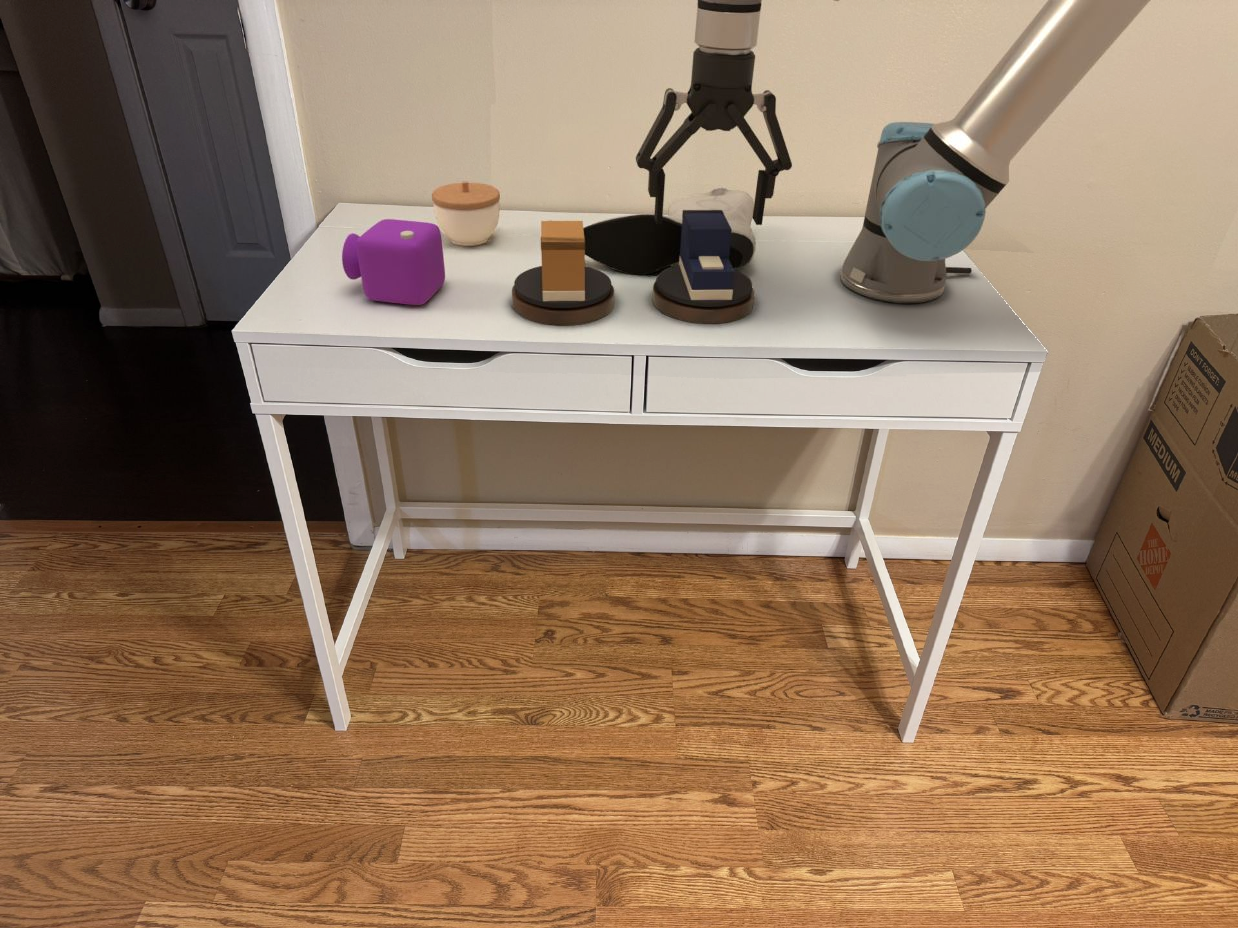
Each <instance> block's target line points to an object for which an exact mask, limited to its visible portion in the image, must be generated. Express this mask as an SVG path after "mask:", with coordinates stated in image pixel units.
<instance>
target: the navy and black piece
mask: <svg viewBox="0 0 1238 928" xmlns="http://www.w3.org/2000/svg"><path fill="white" fill-rule="evenodd" d="M731 232H732V229H731V227H730V225H729V223H728V221H727V219H726V217H725V215H724V213H723V211H722V210H683V213H682V232H681V247H680V258H679V265H676V266H669V267H668V268H664V269H663V270H662V271H660V272H659V273H658V274H657V276H656V280H655V281H656V287H657V289H658V291H659V292H660V293H661V294H662V295H664V296H665V297H667V298H669V299H671V300H673V301H676V302H679V303H683V304H687V305H692V306H701V307H720V306H728V305H733V304H736V303H739V302H741V301H744V300H745V299H747V298H748V297H749V296H750V294H751V292H752V287H753V282H752V279H751V278H750V277H749V276H748V275H746V274H745V273H743V272H741V271H740V270H738V269H736V268H735V269H733V267H732V265H731V263H730V261H729V251H730V242H731Z"/></svg>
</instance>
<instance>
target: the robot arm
mask: <svg viewBox="0 0 1238 928" xmlns="http://www.w3.org/2000/svg"><path fill="white" fill-rule="evenodd" d="M833 1H835V2H839V0H833ZM1150 1H1151V0H1047V1H1046V2H1045V4H1044V5H1043V6H1042V7H1041V9H1040V10H1039V11H1038V12H1037V14H1035V16H1034V17H1033V18H1032V19H1031V20H1030V23H1028V25H1026V28H1024V29H1023V31H1022V32H1021V34H1020V35H1019V36H1018V37H1017V39H1015V41H1014V42H1013V43H1012V45H1011V46H1010V47H1009V49H1008V50H1007V51H1006V53H1005V54H1004V55H1003V56H1002V57H1001V58H1000V60H999V61H998V62H997V64H996V65H995V66H994V68H993V69H992V70H991V71H990V72H989V74H988V75H987V76H986V77H985V79H984V80H983V81H982V82H981V84H980V85H979V86H978V87H977V89H976V90H975V91H974V93H973V94H972V95H971V96H970V97H969V99H967V101H966V102H965V104H964V105H963V106H962V108H961V109H960V110H959V111H958V113H957V114H956V115H955V117H953V118H952V119H950V120H947V121H943V122H938V123H932V122H931V123H930V122H917V121H916V122H914V121H895V122H890V123H888V124H886V125H885V126H884V127H883V128H882V131H881V134H880V138H879V141H878V142H877V146H876V147H877V153H876V158H875V162H874V167H873V174H872V176H871V177H872V178H871V183H870V188H869V193H868V198H867V203H866V207H865V212H864V218H863V224H862V227H861V230H860V232H859V234H858V235H857V237H856V239H855V241H854V242H853V244H852V246H851V248H850V250H849V252H848V253H847V255H846V257H845V259H844V261H843V264H842V266H841V271H840V280H841V282H842V284H843V285H844V286H845V287H847V288H848V289H849V290H850V291H853V292H854V293H857V294H859V295H860V296H864V297H867V298H870V299H873V300H877V301H883V302H887V303H895V304H918V303H927V302H930V301H933V300H935V299H938V298H939V297H940V296H942V295H943V293H944V292H945V287H946V284H947V274H959V275H962V274H963V275H971V274H972V271H973V269H972V268H971V267H957V266H947V265H946V259H948V258H952V257H953V256H955V255H957V254H960V253H961V252H963V251H964V250H965V249H966V248H968V247H969V246H970V245H971V244H972V243H973V241H975V240H976V238H977V237H978V235H979V234H980V232H981V229H982V227H983V224H984V222H985V217H986V212H987V211H986V209H987V208H988V207H989V205H990V204H991V203H992V202H993V201H994V200H995V199H996V197H997V196H998V195H999V194H1000V193H1001V191H1002V190H1003V189H1004V188H1005V187H1006V186H1007V185H1008V184H1009V183H1010V164H1011V161H1012V160H1013V159H1014V158H1015V157H1016V156H1017V154H1018V153H1019V152H1020V151H1021V150H1022V149H1023V147H1025V145H1026V144H1027V143H1028V142H1029V141H1030V139H1031V138H1032V137H1033V136H1034V135H1035V134H1036V133H1037V131H1039V129H1040V128H1041V127H1042V126H1043V124H1045V122H1046V121H1047V120H1048V119H1049V118H1050V116H1051V115H1052V114H1053V113H1054V112H1055V111H1056V110H1057V108H1058V107H1059V106H1060V105H1061V104H1062V103H1063V102H1064V100H1065V99H1066V98H1067V97H1068V96H1069V95H1070V94H1071V93H1072V91H1073V90H1074V89H1075V87H1076V86H1077V85H1078V84H1079V83H1080V82H1081V81H1082V80H1083V78H1085V76H1086V75H1087V74H1088V73H1089V72H1090V71H1091V69H1092V68H1093V67H1094V66H1095V65H1096V63H1098V61H1099V60H1100V59H1101V58H1102V57H1103V55H1104V54H1105V53H1106V52H1107V51H1108V50H1109V49H1110V48H1111V47H1112V45H1113V44H1114V43H1115V42H1116V41H1117V40H1118V38H1119V37H1120V36H1121V35H1122V34H1123V33H1124V31H1126V29H1127V28H1128V27H1129V26H1130V24H1131V23H1133V21H1134V20H1135V19H1136V18H1137V17H1138V15H1140V13H1141V12H1142V11H1143V9H1144V8H1145V7H1146V6H1147V5H1148V4H1149V3H1150ZM696 6H697V7H696V10H697V11H696V19H695V28H694V29H695V31H694V43H695V44H696V45H697V46H698V47H696V48H695V50H694V51H693V54H692V65H691V78H690V85H689V86H690V87H689V89H688V91H687V92H683V91H675V90H674V89H673V88H671V87H668V88H666V90H665V91H664V96H663V101H662V107H661V109H660V110H659V113H658V114H657V116H656V117H655V120H654V122H653V124H652V126H651V128H650V129H649V131H648V132H647V135H646V137H645V139H644V140H643V143H642V144H641V146H640V148H639V150H638V152H637V153H636V156H635V162H636V165H637V168H639V169H643V170H646V171H648V183H647V191H648V195H649V198H655V199H654V213H653V214H654V218H655V221H656V224H662V217H663V215H664V201H665V200H664V198H665V186H666V185H665V184H666V173H665V171H664V167H665V166H666V165H667V163H669V161H670V160H671V159H672V158H674V156H675V155H676V154H677V152H678V151H680V149H681V148H682V147H683V146H684V145H685V144H686V142H688V140H689V139H690V138H691V137H692V136H693V135H695V134H696V133H697V132H698V131H699V130H700V129H701V128H702V129H703V130H705V131H706V132H713V131H717V130H719V131H723V132H731V130H734V129H735V128H738V130H739V131H740V133H741V134H742V136H743V137H744V139H745V140H746V142H747V143H748V145H749V146H750V147H751V149H752V150H753V152H754V153H755V155H756V156H757V158H758V160H759V161H760V162H761V164H762V166H763V167H764V169H758V173H757V180H756V188H755V196H754V201H753V203H754V210H753V217H752V220H753V221H754V223H755V225H756V226H763V220H764V213H765V206H766V199H772V198H773V197H774V193H775V185H776V178H777V177H778V175H779V174H780V172H783V171H789V170H791V169H792V168H793V163H792V159H791V157H790V153H789V151H788V147H787V145H786V141H785V137H784V136H783V135H784V134H783V132H782V129H781V126H780V123H779V120H778V116H777V113H776V112H777V109H776V108H777V96H775V94H773V92H772V91H770V90H769V89H767V90H764V91H763V92H761V93H753V90H752V89H753V78H754V70H755V63H756V54H755V53H754V51H753V50H752V49H754V48H756V47H757V46H758V37H759V27H760V21H761V20H760V19H761V11H762V0H697V4H696ZM684 104H686V105H687V107H688V108H689V110H690V113H689V115H688V116H687V117H686V118H685V119H684V121H683V122H682V124H681V125H680V126H679V128H677V130H676V131H675V132H674V133H673V134H672V135H671V136H670V137H669V139H668V140H667V141H666V142H665V143H664V144H663V145H662V146H661V147H660V148H659V150H658V151H657V152H656V153H655V154H654V152H655V151H656V148H657V147H658V145H659V143H660V140H661V139H662V137H663V135H664V133H665V131H666V130H667V128H668V126H669V124H670V122H671V121H672V118H673V117H674V114H675V112H677V111H679V110H680V109H681V107H682V105H684ZM754 105H755V106H756V108H757V110H759V112H761V113H762V116H763V119H764V122H765V125H766V128H767V131H768V135H769V138H770V140H771V144H772V146H773V149H774V153H775V155H776V159H772V158H771V156H770V154H769V153H768V151H767V150H766V148H765V147H764V145H763V144H762V142H761V141H760V140H759V138H758V136H757V135H756V133H755V132H754V131H753V129H752V127H751V126H750V124H749V123H748V121H747V119H746V118H745V117H746V115H747V114H748V113H749V111H750V110H751V109H752V108H753V106H754ZM653 154H654V155H653ZM652 155H653V156H652Z"/></svg>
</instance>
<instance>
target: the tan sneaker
mask: <svg viewBox="0 0 1238 928" xmlns="http://www.w3.org/2000/svg"><path fill="white" fill-rule="evenodd" d="M583 228H584V222H583V220H541V222H540V251H541V254H540V255H541V265H539V266H535V267H532V268H529V269H527V270H525V271H523V272H521V273H520V274H518V275H517V276H516V277H515V279H514V283H513V286H514V288H515V292H516V294H517V295H518V296H519V297H520V298H521V299H523V300H524V301H527V302H529V303H531V304H535V305H538V306H543V307H549V308H577V307H583V306H588V305H591V304H595V303H597V302H600V301H601V300H603V299H605V298H606V297H607V296H608V295H609V294H610V292H611V284H612V280H611V278H610V277H609V276H608V274H606V273H605V272H603V271H601V270H599V269H597V268H595V267H591V266H588V265H587V266H586V255H585V237H584V230H583Z"/></svg>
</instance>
